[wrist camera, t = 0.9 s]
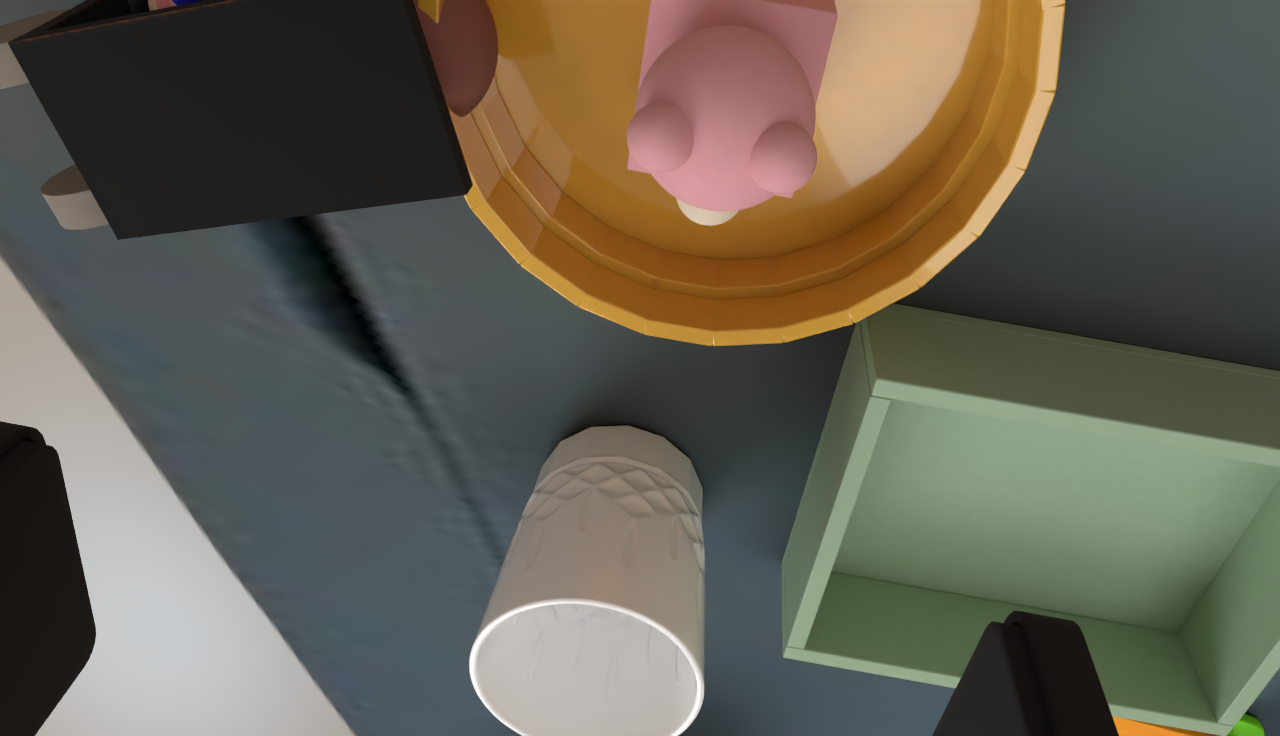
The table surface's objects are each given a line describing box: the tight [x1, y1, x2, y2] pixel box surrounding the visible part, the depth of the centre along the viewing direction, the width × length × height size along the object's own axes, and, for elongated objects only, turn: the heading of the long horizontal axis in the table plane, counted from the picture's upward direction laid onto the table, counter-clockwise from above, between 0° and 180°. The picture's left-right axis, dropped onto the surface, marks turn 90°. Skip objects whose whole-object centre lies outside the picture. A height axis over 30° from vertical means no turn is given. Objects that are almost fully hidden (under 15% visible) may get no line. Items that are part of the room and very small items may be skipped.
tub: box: [781, 303, 1280, 736], centre depth 37 cm, size 13×17×5 cm
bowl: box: [418, 0, 1066, 346], centre depth 29 cm, size 17×17×4 cm
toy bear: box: [627, 0, 838, 226], centre depth 27 cm, size 5×5×10 cm
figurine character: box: [0, 0, 498, 240], centre depth 30 cm, size 7×8×15 cm
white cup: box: [469, 425, 705, 736], centre depth 38 cm, size 8×8×10 cm
